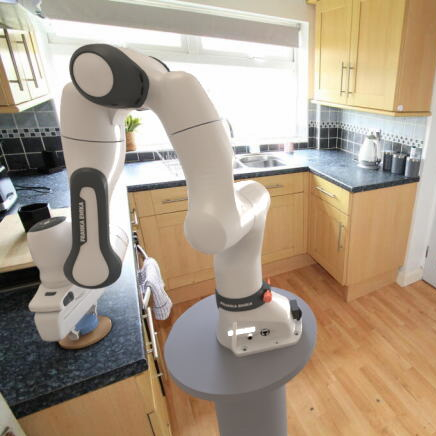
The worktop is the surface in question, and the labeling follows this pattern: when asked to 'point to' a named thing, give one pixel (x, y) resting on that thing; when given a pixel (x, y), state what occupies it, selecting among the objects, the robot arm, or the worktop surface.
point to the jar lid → (87, 324)
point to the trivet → (88, 335)
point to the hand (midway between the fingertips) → (84, 327)
